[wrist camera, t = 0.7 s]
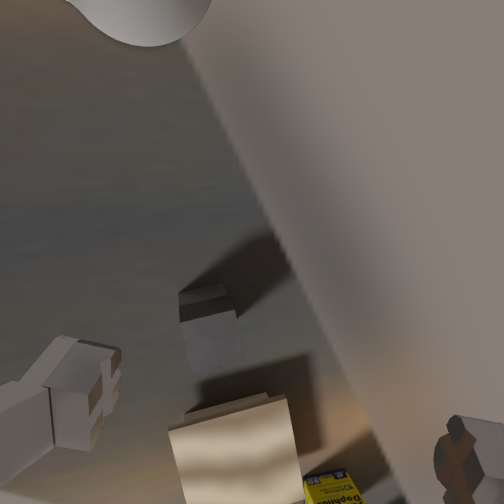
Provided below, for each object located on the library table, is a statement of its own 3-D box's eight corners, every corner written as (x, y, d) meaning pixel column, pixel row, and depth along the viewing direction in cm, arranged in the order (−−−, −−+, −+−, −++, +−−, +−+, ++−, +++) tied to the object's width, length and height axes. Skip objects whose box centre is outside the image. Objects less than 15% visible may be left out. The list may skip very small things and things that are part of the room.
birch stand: (168, 406, 49) (168, 431, 44) (275, 377, 51) (286, 398, 46) (192, 500, 51) (194, 534, 47) (293, 469, 53) (305, 498, 48)
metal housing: (178, 292, 47) (179, 322, 37) (222, 282, 47) (235, 309, 38) (187, 334, 48) (191, 373, 38) (230, 323, 48) (245, 360, 39)
